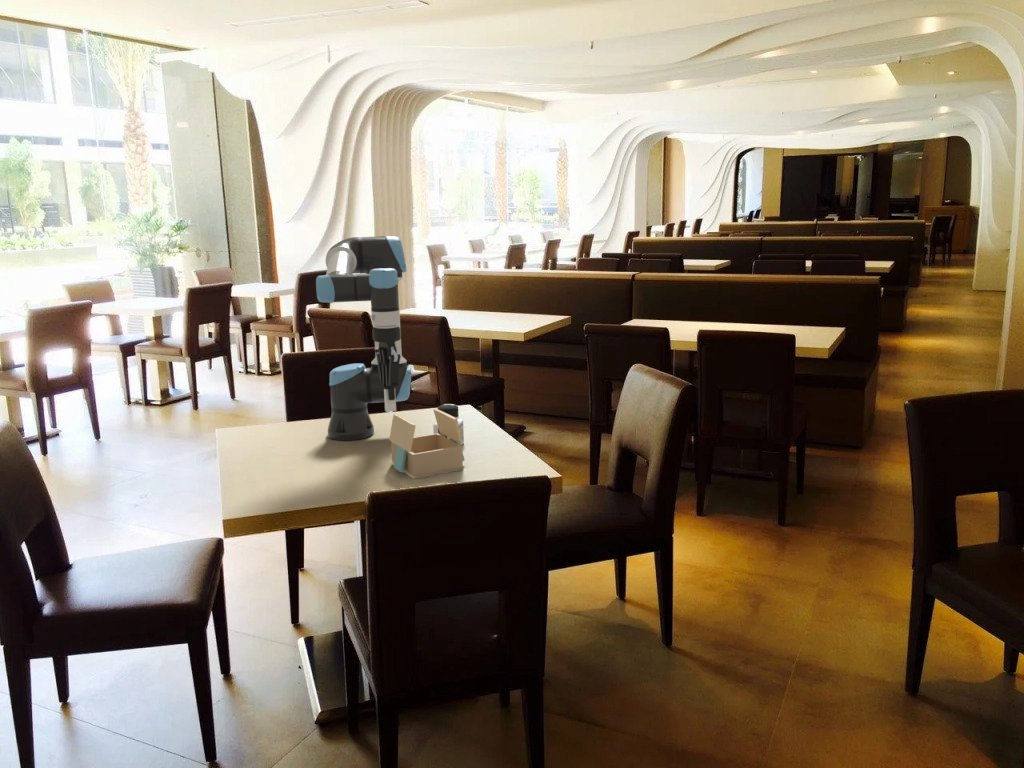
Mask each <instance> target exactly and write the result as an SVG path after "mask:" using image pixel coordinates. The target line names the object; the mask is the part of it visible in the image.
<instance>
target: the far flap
mask: <svg viewBox="0 0 1024 768" xmlns="http://www.w3.org/2000/svg"><path fill="white" fill-rule="evenodd" d="M432 410H433V413H434V417H435V421H436V422H437V424H438V428H439V431H440V433H442V434H444V435H446V436H448V437H449V438H450V440H451V441H453V442H455V443H457V444H459V445H460V443H463V440H462V436H461V433H460V429H459V425H458V422H457V418H455V417H453V416H451V415H449V414H447V413H445V412H442V411H440V410H438V409H437V408H433V409H432ZM463 444H464V443H463ZM462 457H463V462H464V461H465V457H464V454H463V451H462Z"/></svg>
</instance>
